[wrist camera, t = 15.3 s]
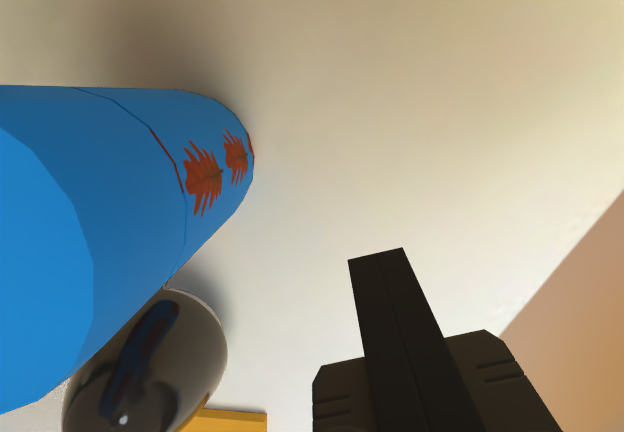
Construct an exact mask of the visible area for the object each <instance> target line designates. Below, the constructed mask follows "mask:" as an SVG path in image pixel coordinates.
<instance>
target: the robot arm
mask: <svg viewBox="0 0 624 432" xmlns="http://www.w3.org/2000/svg"><path fill="white" fill-rule="evenodd" d="M348 265H349V271H350V277H351V282H352V288H353V293H354V299H355V305H356V310H357V316H358V321H359V327H360V333H361V338H362V344H363V349H364V355H365V357H360V358H356V359H351V360H346V361H341V362H337V363H332V364H327V365H323V366H321V368H320V369H319V371H318V373H317V375H316V377H315V379H314V381H313V383H312V402H313V405H312V413H313V432H563V431H562V430H561V428H560V427H559V425H558V424H557V422H556V421H555V419H554V418H553V417H552V415H551V413H550V412H549V410H548V408H547V407H546V405H545V404H544V402H543V401H542V399H541V398H540V396H539V395H538V393H537V392H536V390H535V389H534V387H533V386H532V384H531V382H530V381H529V379H528V378H527V376H526V375H524V372H523V370H522V369H521V367H520V366H519V364H518V363H517V361H515V358H514V357H513V355H512V353H511V352H510V350H509V349H508V347H507V346H506V344H505V343H504V341H502V340H501V339H499V338H498V337H496V336H494V335H493V334H491V333H490V332H488V331H486V330H485V329H484V330H479V331H474V332H469V333H465V334H460V335H455V336H451V337H446V338H444V337H443V335H442V332H441V330H440V328H439V326H438V324H437V322H436V319H435V317H434V315H433V313H432V311H431V309H430V306H429V304H428V302H427V300H426V298H425V295H424V293H423V291H422V289H421V287H420V285H419V282H418V280H417V278H416V276H415V274H414V272H413V269H412V267H411V265H410V263H409V261H408V258H407V256H406V254H405V252H404V250H403V248H402V247H401V248H397V249H393V250H388V251H384V252H380V253H375V254H371V255H366V256H362V257H358V258H353V259H349V260H348Z"/></svg>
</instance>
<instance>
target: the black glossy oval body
mask: <svg viewBox="0 0 624 432" xmlns="http://www.w3.org/2000/svg"><path fill="white" fill-rule="evenodd" d="M226 364H227V343H226V339H225V336H224V332H223V329H222V326H221V323H220V321H219V319H218V317H217V316H216V314H215V313H214V311H213V310H212V309H211V308H210V307H209V306H208V305H207V304H206V303H205V302H204V301H202V300H201V299H200V298H198V297H197V296H195V295H193V294H190V293H188V292H185V291H182V290H177V289H159V290H158V291H157V292H156V293H155V294H154V295H153V296H152V297H151V298H150V299H149V300H148V301H147V302H146V303H145V304H144V305H143V306H142V307H141V308H140V309H139V310H138V311H137V312H136V313H135V314H134V315H133V316H132V318H131V319H130V320H129V321H128V322H127V323H126V324H125V325H124V326H123V327H122V328H121V329H120V330H119V331H118V332H117V333H116V334H115V335H114V336H113V337H112V338H111V339H110V340H109V341H108V342H107V343H106V344H105V345H104V346H103V347H102V348H101V349H100V350H99V351H98V352H97V353H95V354H94V355H93V356H92V357H91V358H90V359H89V360H88V361H87V362H86V363H85V364H84V365H83V366H82V367H81V368H80V369H78V370H77V371H76V372H75V373H74V374H73V375H72V376H71V377H70V380H69V383H68V386H67V389H66V393H65V397H64V401H63V406H62V413H61V431H62V432H181V431H182V430H183V429H184V428H185V427H186V426H187V425H188V424H189V423H190V422H191V421H192V420H193V419H194V418H195V416H196V415H197V414H198V413H199V412H200V410H201V409H202V408H203V407H204V405H205V404H206V403H207V401H208V400H209V399H210V397H211V396H212V394H213V393H214V391H215V390H216V388H217V386H218V385H219V383H220V381H221V379H222V376H223V374H224V371H225V368H226Z"/></svg>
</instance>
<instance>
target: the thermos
mask: <svg viewBox="0 0 624 432" xmlns="http://www.w3.org/2000/svg"><path fill="white" fill-rule="evenodd" d="M253 167H254V154H253V150H252V146H251V142H250V139H249V135H248V133H247V132H246V130H245V129H244V127H243V126H242V124H241V123H240V121H239V120H238V118H237V117H236V115H235V114H234V113H233V112H231V111H230V110H229V109H227V108H226V107H225V106H223V105H222V104H221V103H219V102H218V101H217V100H215V99H212V98H208V97H205V96H202V95H199V94H195V93H192V92H186V91H181V90H176V89H140V88H102V87H63V86H24V85H0V415H1V414H4V413H6V412H9V411H12V410H14V409H17V408H20V407H22V406H25V405H28V404H30V403H33V402H36V401H38V400H39V399H41V398H42V397H44V396H45V395H46V394H48V393H49V392H50V391H52V390H53V389H54V388H56V387H57V386H59V385H60V384H61V383H63V382H64V381H65V380H67V379H68V378H69V377H71V376H72V375H73V374H74V373H75V372H76V371H77V370H78V369H80V368H81V367H82V366H83V365H84V364H85V363H86V362H87V361H88V360H89V359H90V358H91V357H92V356H93V355H94V354H95V353H97V352H98V351H99V350H100V349H101V348H102V347H103V346H104V345H105V344H106V343H107V342H108V341H109V340H110V339H111V338H112V337H113V336H114V335H115V334H116V333H117V332H118V331H119V330H120V329H121V328H122V327H123V326H124V325H125V324H126V323H127V322H128V321H129V320H130V319H131V318H132V316H133V315H134V314H135V313H136V312H137V311H138V310H139V309H140V308H141V307H142V306H143V305H144V304H145V303H146V302H147V301H148V300H149V299H150V298H151V297H152V296H153V295H154V294H155V293H156V292H157V291H158V290H159V289H160V288H161V287H162V286H163V285H164V284H165V283H166V282H167V281H168V280H169V279H170V278H171V277H172V276H173V275H174V274H175V273H176V272H177V271H178V270H179V268H180V267H181V266H182V265H183V264H184V263H185V262H186V261H187V260H188V259H189V258H190V257H191V256H192V255H193V254H194V253H195V252H196V251H197V250H198V249H199V248H200V247H201V246H202V245H203V244H204V243H205V242H206V241H207V240H208V239H209V238H210V237H211V236H212V235H213V234H214V233H215V232H216V231H217V230H218V229H219V228H220V227H221V226H222V225H223V224H224V223H225V222H226V221H227V219H228V218H229V217H230V216H231V215H232V214H233V213H234V212H235V211H236V209H237V208H238V206H239V205H240V203H241V202H242V201H243V199H244V197H245V194H246V192H247V190H248V188H249V186H250V184H251V182H252V179H253Z"/></svg>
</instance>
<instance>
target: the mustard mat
mask: <svg viewBox="0 0 624 432" xmlns="http://www.w3.org/2000/svg"><path fill="white" fill-rule="evenodd" d="M266 429H267V414H261V413H249V412H237V411H225V410H213V409H201V410H200V412H199V413H198V414H197V415H196V416H195V418H194V419H193V420H192V421H191V422H190V423H189V424H188V425H187V426H186V427H185V428H184V429H183V430H182V431H181V432H266Z"/></svg>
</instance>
